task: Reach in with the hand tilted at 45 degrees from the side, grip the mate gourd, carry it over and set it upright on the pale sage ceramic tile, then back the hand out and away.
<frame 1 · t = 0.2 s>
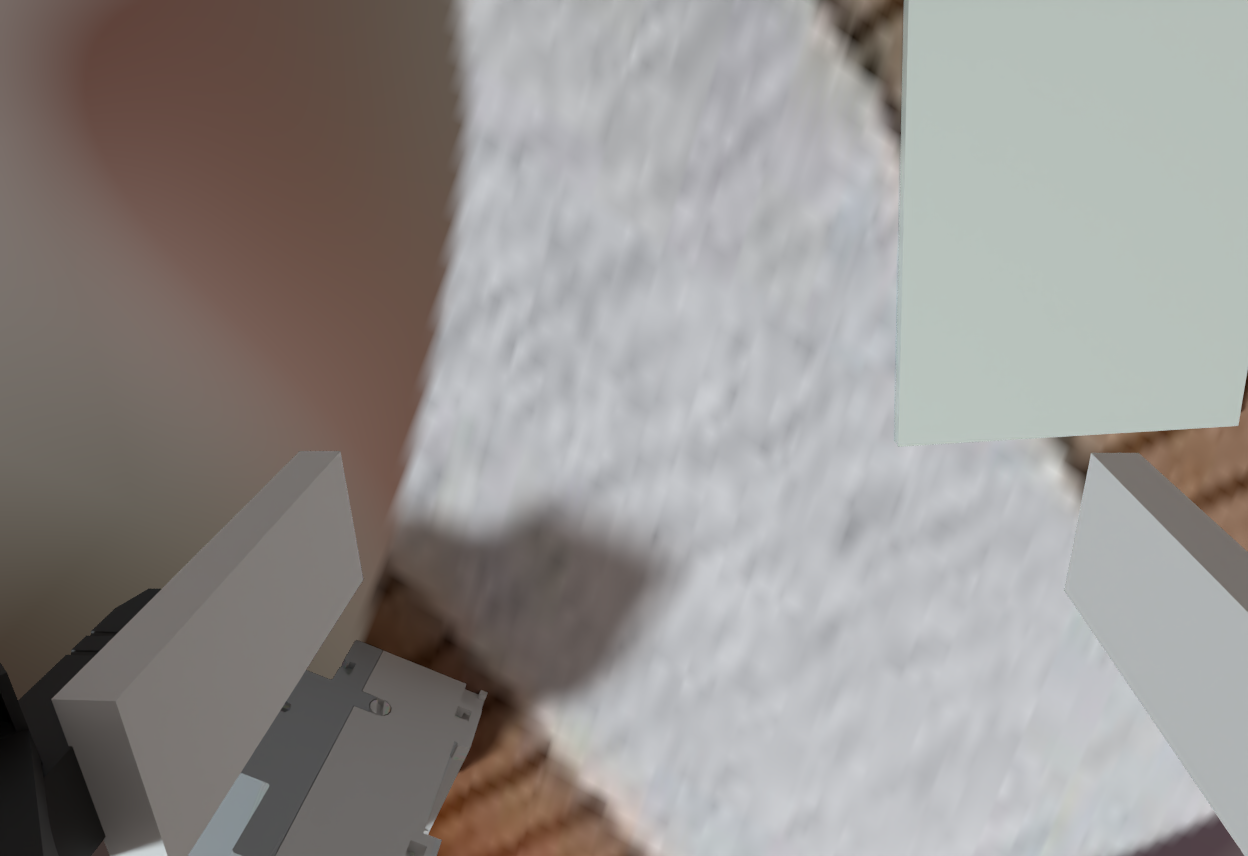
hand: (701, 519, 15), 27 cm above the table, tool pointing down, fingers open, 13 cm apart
circuit breaker: (354, 692, 51), on the table
sage tile: (1079, 203, 39), on the table
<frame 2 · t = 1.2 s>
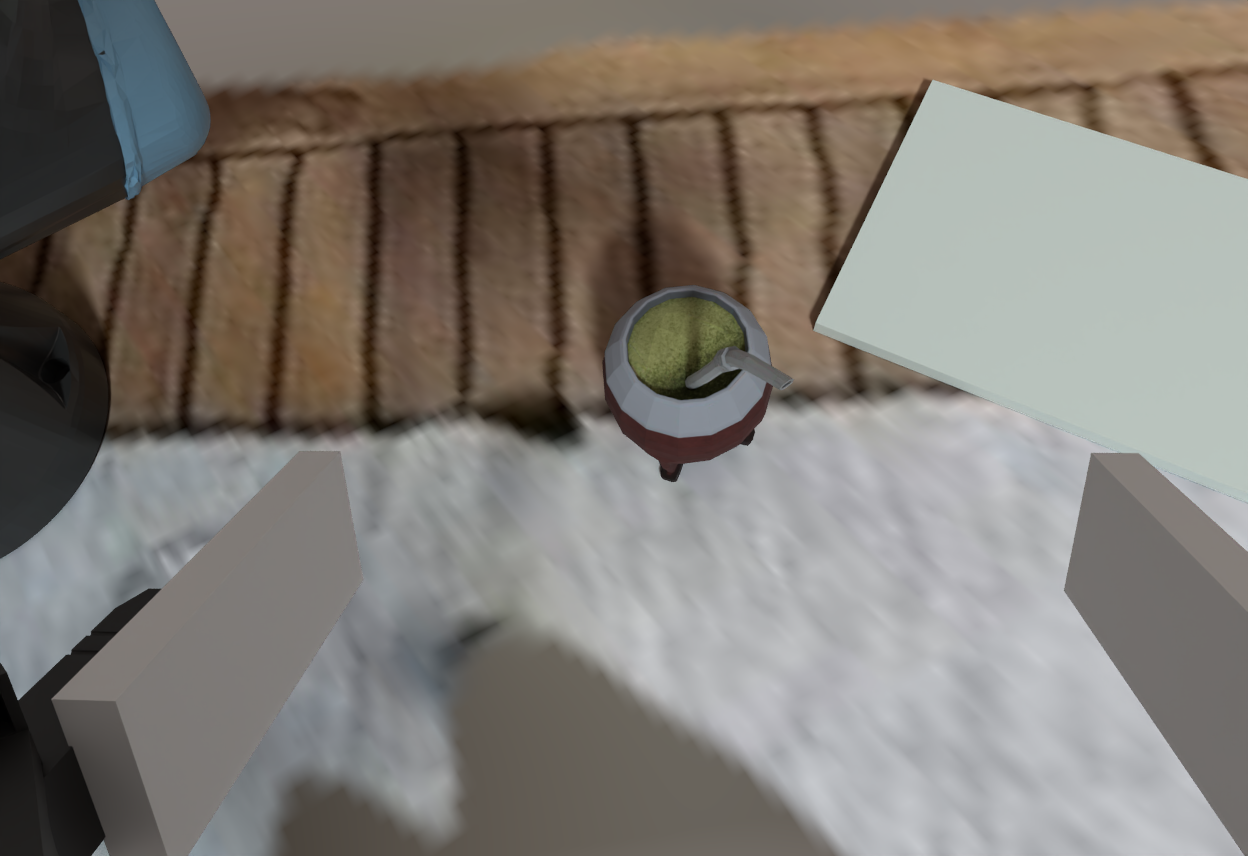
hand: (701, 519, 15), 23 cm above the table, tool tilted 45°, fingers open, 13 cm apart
sage tile: (1091, 281, 42), on the table
mate gourd: (695, 429, 41), on the table
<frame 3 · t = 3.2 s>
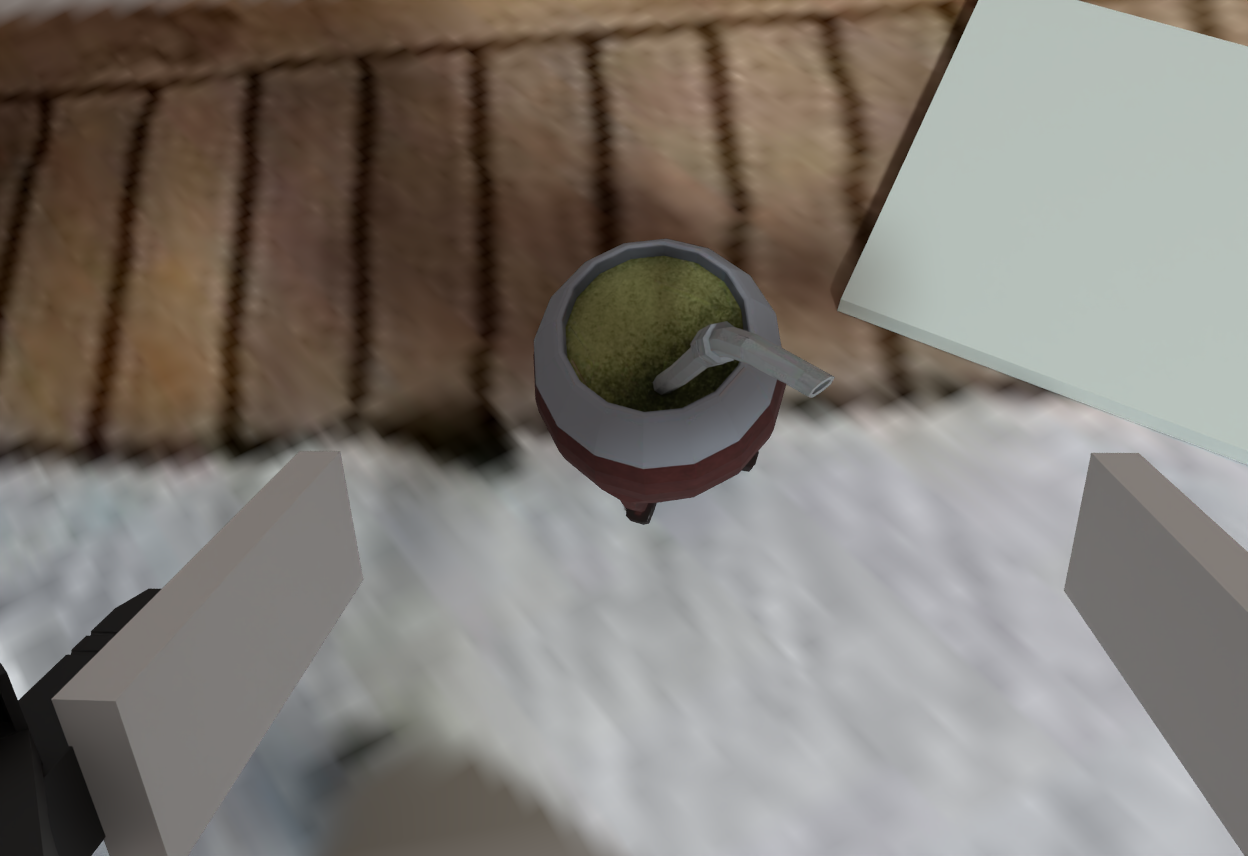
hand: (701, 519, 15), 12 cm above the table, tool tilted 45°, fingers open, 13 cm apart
sage tile: (1220, 238, 30), on the table
mate gourd: (675, 449, 29), on the table
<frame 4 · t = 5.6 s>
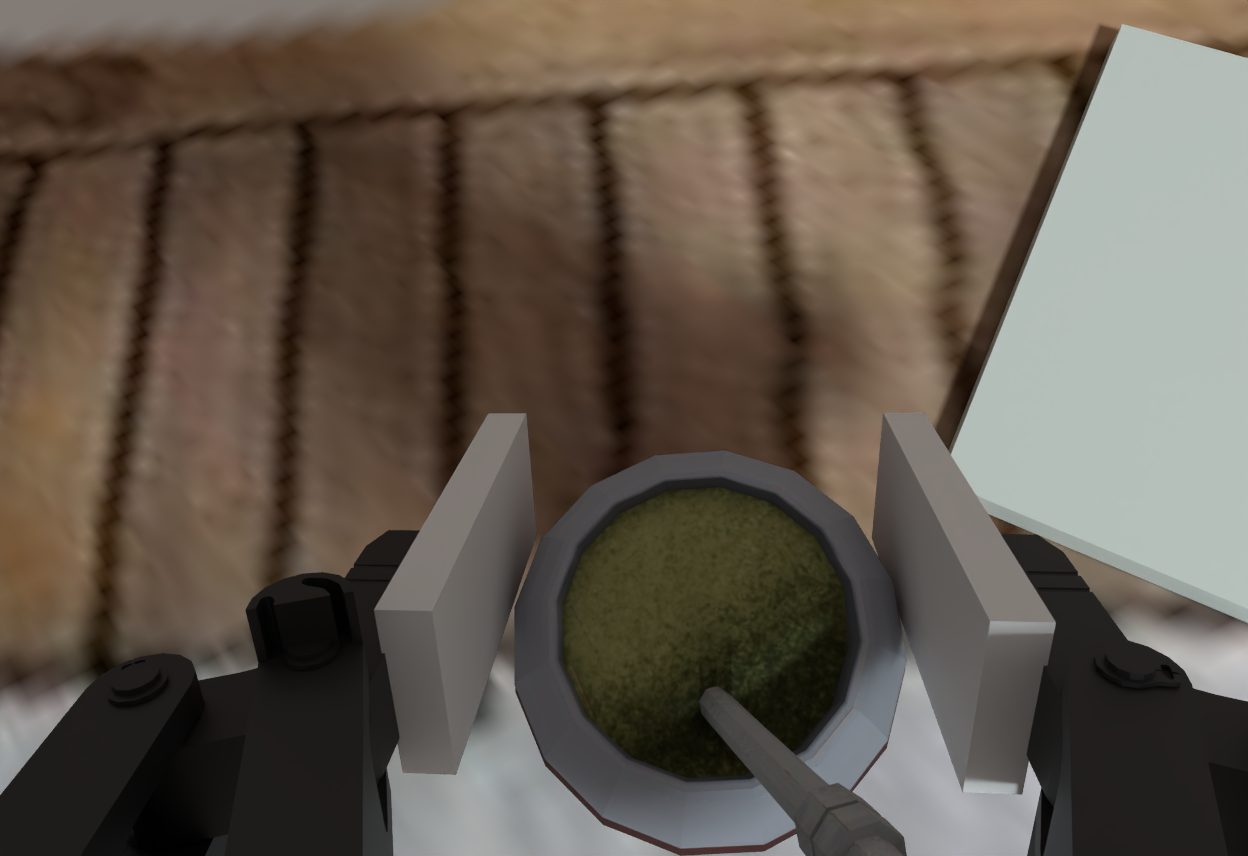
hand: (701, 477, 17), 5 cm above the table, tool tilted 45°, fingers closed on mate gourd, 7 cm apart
mate gourd: (718, 691, 21), on the table, touching gripper
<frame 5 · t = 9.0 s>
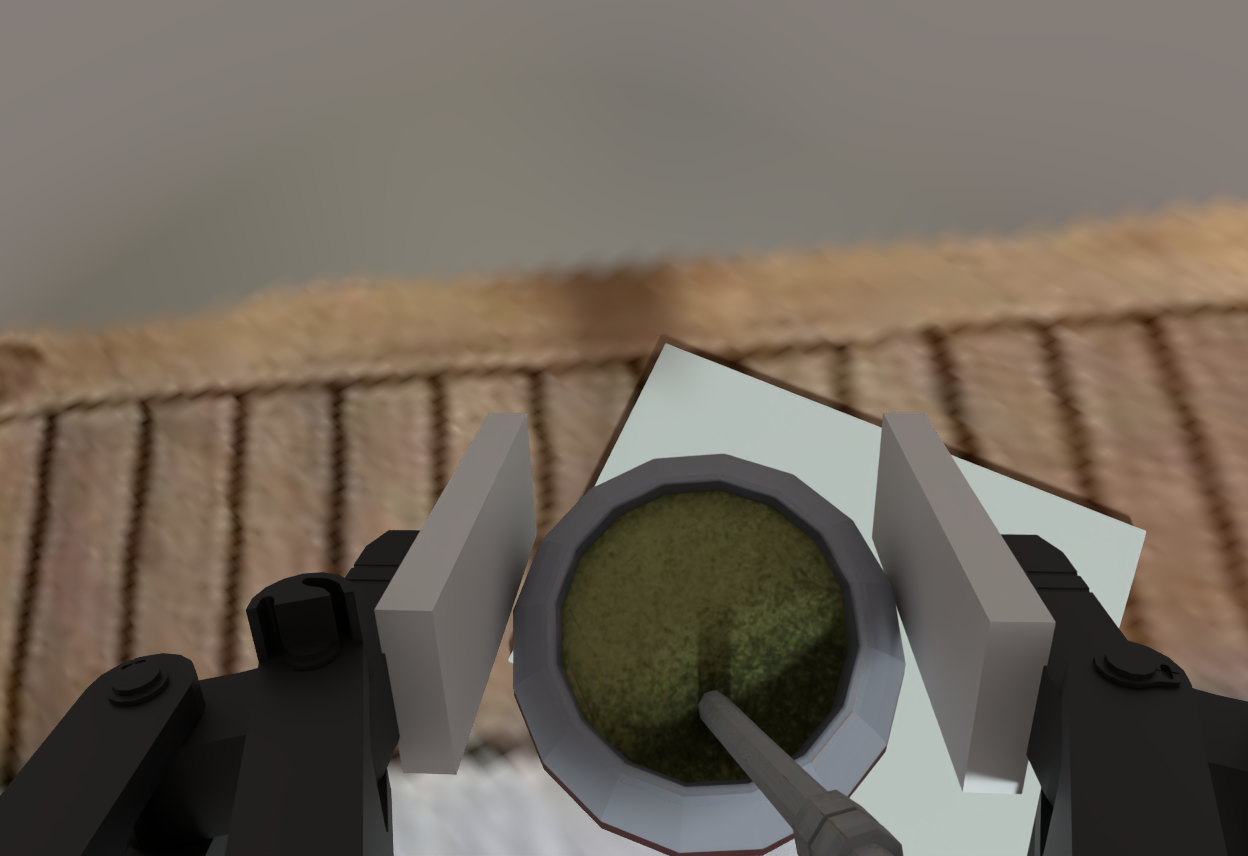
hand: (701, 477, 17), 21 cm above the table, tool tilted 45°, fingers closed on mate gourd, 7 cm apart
sage tile: (824, 599, 37), on the table
mate gourd: (717, 693, 21), point 16 cm above the table, touching gripper
when the fingers open (8 cm above the table, at t = 12.4 s): mate gourd drops 2 cm, resting on sage tile.
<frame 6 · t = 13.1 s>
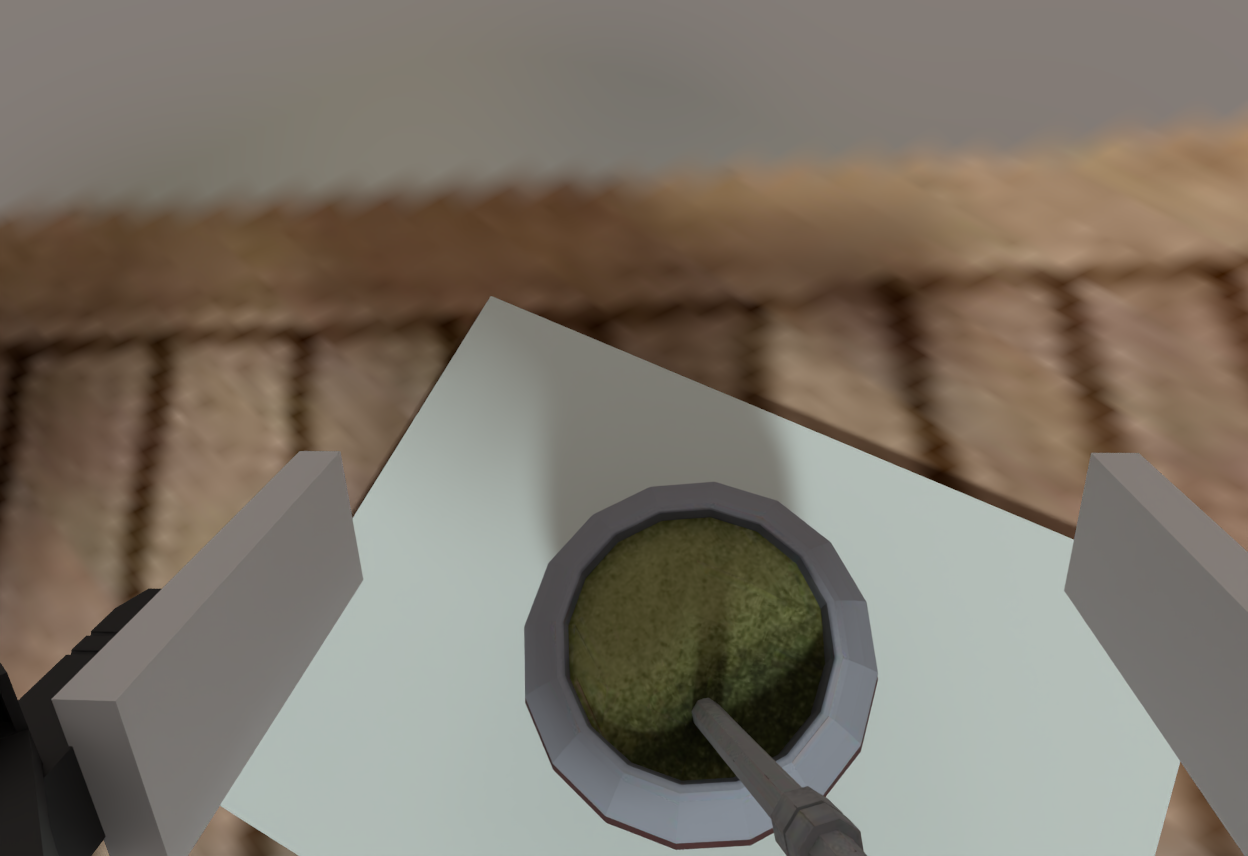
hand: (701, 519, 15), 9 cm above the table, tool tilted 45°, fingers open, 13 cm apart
sage tile: (700, 696, 23), on the table
mate gourd: (710, 697, 22), point 1 cm above the table, touching sage tile
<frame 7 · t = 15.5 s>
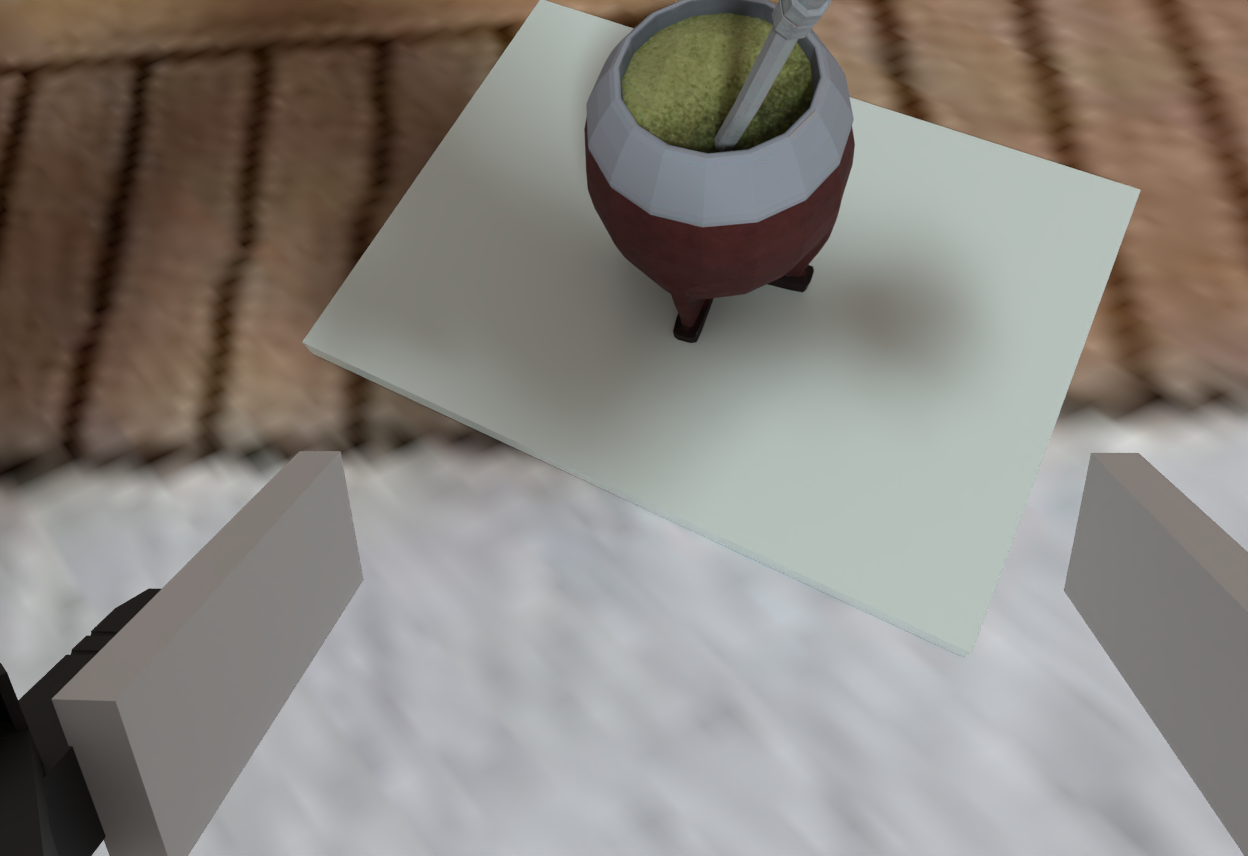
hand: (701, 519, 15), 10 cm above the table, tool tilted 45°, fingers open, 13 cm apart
sage tile: (716, 280, 28), on the table
mate gourd: (725, 271, 28), point 1 cm above the table, touching sage tile
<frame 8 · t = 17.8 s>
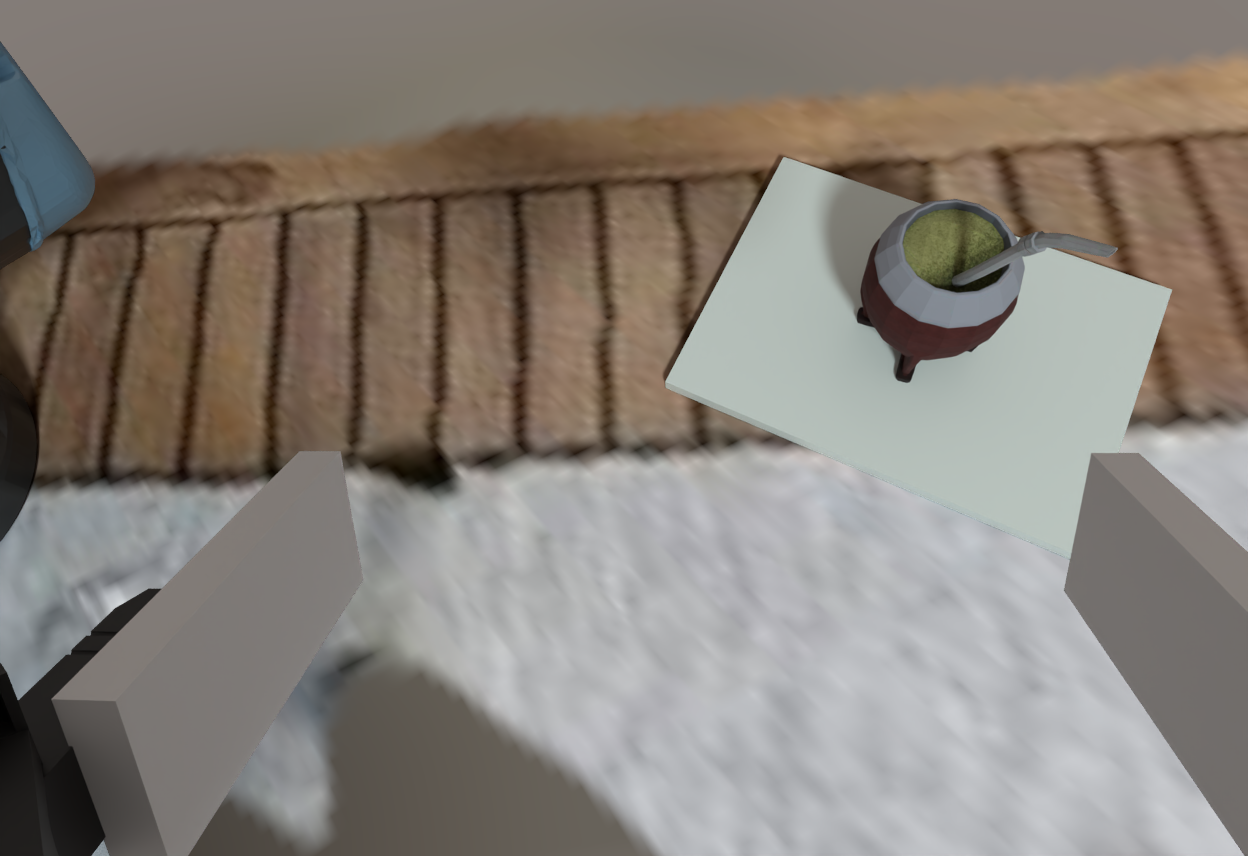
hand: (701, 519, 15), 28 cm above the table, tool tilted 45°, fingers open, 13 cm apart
sage tile: (914, 342, 47), on the table
mate gourd: (921, 338, 46), point 1 cm above the table, touching sage tile
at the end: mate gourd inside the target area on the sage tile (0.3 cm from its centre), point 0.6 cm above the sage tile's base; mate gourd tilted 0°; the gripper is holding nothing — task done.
